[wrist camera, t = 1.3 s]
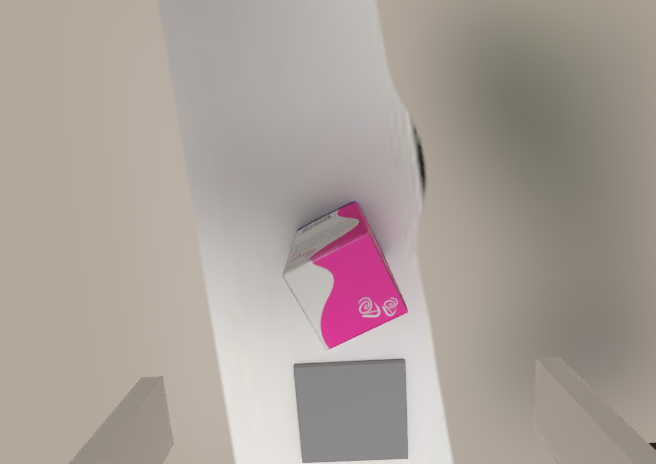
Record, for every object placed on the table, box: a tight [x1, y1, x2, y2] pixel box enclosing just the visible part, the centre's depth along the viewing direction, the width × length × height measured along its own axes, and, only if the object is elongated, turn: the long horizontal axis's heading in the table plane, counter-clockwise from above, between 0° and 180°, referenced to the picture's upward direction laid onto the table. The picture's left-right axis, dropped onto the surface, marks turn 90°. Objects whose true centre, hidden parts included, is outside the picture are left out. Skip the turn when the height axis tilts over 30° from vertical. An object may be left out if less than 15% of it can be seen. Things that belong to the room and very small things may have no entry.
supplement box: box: [282, 201, 408, 350], centre depth 30 cm, size 6×6×12 cm
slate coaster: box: [294, 359, 408, 463], centre depth 38 cm, size 10×10×1 cm
